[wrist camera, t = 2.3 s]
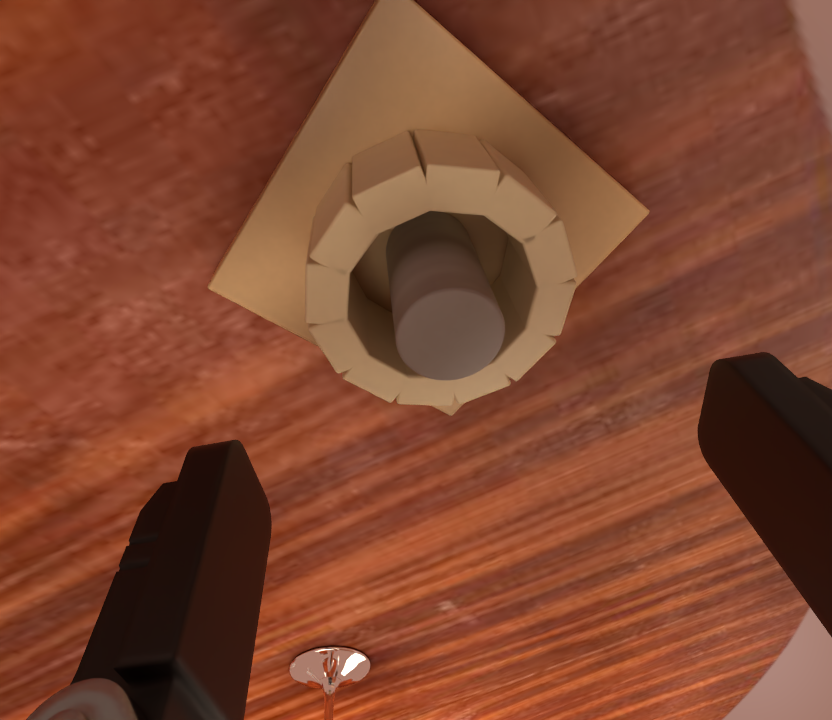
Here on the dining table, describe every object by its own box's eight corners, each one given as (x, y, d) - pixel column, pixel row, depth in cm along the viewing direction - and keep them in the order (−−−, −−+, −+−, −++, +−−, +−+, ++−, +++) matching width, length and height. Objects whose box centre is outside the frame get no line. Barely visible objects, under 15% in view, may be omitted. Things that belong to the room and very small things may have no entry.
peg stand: (213, 272, 16) (161, 387, 12) (388, -22, 13) (406, -15, 8) (447, 399, 20) (474, 522, 16) (637, 199, 16) (743, 287, 12)
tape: (270, 277, 16) (254, 335, 13) (403, 73, 13) (414, 98, 10) (445, 376, 18) (460, 439, 16) (586, 223, 16) (630, 271, 13)
